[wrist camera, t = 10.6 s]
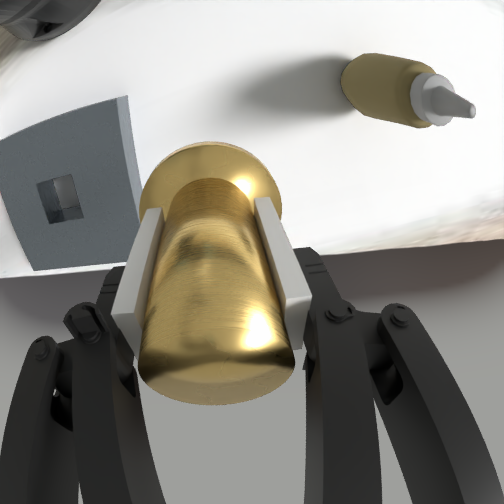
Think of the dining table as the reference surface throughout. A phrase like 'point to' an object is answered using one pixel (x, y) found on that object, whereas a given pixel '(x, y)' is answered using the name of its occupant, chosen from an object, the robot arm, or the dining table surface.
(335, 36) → the dining table surface
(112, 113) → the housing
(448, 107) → the squeeze bottle
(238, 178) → the brass door knob
